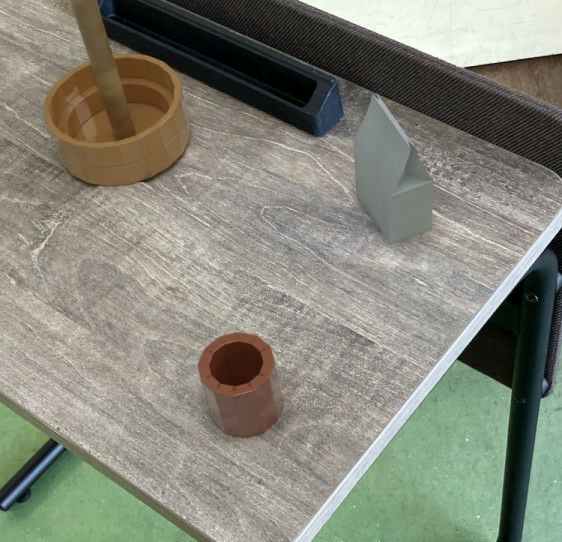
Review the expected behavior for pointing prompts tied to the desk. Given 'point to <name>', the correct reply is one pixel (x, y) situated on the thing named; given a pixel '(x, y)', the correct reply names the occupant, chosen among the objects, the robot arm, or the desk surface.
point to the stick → (104, 67)
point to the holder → (241, 384)
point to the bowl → (97, 130)
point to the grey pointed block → (391, 176)
